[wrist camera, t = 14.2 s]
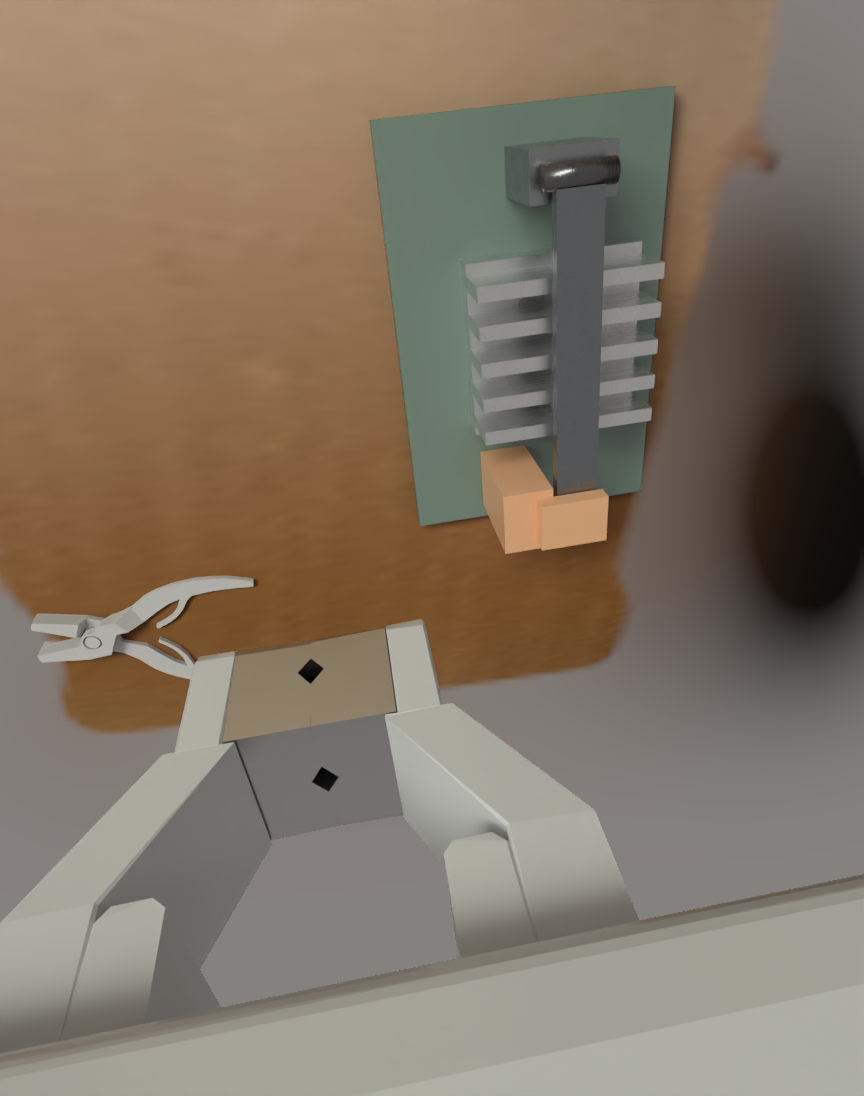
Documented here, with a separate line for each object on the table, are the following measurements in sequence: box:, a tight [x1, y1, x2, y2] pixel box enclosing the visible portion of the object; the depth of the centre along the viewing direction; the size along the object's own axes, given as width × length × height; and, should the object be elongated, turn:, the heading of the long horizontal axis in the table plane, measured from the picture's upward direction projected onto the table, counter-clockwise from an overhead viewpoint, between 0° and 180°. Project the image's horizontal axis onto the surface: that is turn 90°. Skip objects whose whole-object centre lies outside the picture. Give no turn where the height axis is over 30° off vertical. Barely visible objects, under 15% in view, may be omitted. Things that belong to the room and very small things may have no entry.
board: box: [370, 86, 675, 526], centre depth 41 cm, size 24×16×1 cm, turn 6°
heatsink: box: [459, 137, 665, 446], centre depth 38 cm, size 15×10×5 cm, turn 6°
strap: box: [538, 155, 621, 497], centre depth 36 cm, size 19×4×1 cm, turn 6°
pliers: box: [31, 576, 254, 679], centre depth 49 cm, size 10×2×15 cm
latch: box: [480, 445, 609, 554], centre depth 43 cm, size 4×6×7 cm, turn 96°
